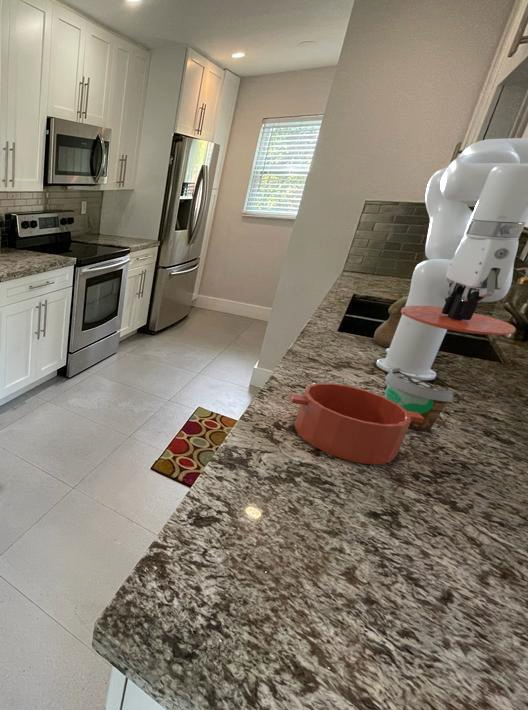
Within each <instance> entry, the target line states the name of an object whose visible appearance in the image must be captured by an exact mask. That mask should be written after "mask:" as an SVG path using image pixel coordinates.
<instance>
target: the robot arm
mask: <svg viewBox="0 0 528 710" xmlns="http://www.w3.org/2000/svg"><path fill="white" fill-rule="evenodd" d="M464 202H476V204H475V207H474V209H473V210H472V209H471V208H470V207H469V206H468V205H467V204H466V203H464ZM425 207H426V212H427V214H428V217H429V226H428V230H427V235H426V240H425V241H426V242H425V247H424V248H425V249H424V254H425V257H426V258H427V259H426V260H422V261H421V262H420V263H418V264H417V265H416V266H415V267H414V270H413V273H412V277H411V280H410V281H411V282H410V287H409V292H408V293H409V296H408V299H407V303H406V305H405V307H406V306H433V307H442V308H443V310H442V313H443V314H447V315H448V314H449V311H450V309H451V307H452V304H453V302H454V300H455V297H456V295H457V294H462V297H461V300H458V301H457V303H456V305H455V308H454V310H453V312H452V315H451V318H453V319H461V320H470V319H471V318H472V316H473V313H475V311H476V309H477V307H478V305H479V304H481V303H495V302H499V301H501V300H502V299H503V298H505V297H506V295H508V293H509V291H510V289H511V286H512V282H513V275H514V265H515V261H516V257H517V252H518V248H519V242H520V241H519V239H520V237H521V234H522V232H523V230H524V228H525V225H526V223H527V221H528V137H514V138H513V137H511V138H509V137H508V138H486V139H482V140H479V141H476V142H474V143H472V144H469V145H468V146H467V147H466V148H464V149H463V150H462V151H461V153H460V155H459V157H457V158H455V159H454V160H453V161H451V162H450V163H449V164H448V166H446V167H444V168H441V169H439V170H437V171H435V173H433V174H432V175H431V177H430V179H429V181H428V184H427V186H426V190H425ZM446 298H447V300H446V302H445V299H446ZM447 332H448V329H443V328H439V327H435V326H431V325H428V324H425V323H422V322H419V321H416V320H414V319H411V318H409V317H407V316H405V315H403V314H402V316H401V319H400V322H399V324H398V327H397V329H396V332H395V335H394V337H393V340H392V343H391V345H390V348H386V349H385V350H384V351H385V353H387V354H386V355H385V357H381V358H379V359H377V360H376V362H375V365H376V366H377V367H378V368H379V369H381V370H382V371H384V372H386V373H389V372H390V371H392V370H393V369H395V368H401V369H400V372H401V373H403V374H406V375H408V376H410V377H413V378H416V379H419V380H422V381H432V380H435V379H436V377H437V372H435V371H434V370H433V369H431V368H432V366H433V364H434V361H435V359H436V357H437V354H438V353H439V350H440V348H441V345H442V343H443V340H444V338H445V336H446V334H447Z"/></svg>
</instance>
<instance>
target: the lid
mask: <svg viewBox="0 0 528 710" xmlns="http://www.w3.org/2000/svg"><path fill="white" fill-rule="evenodd" d="M461 297H462V294H457V295H456V297H455V300H454V302H453V304H452V307H451V309H450V311H449V314H448V315H447V314H443V313H442V310H443V308H442V307H433V306H406V307H403V308H402V309H401V313H402V314H403V315H405V316H407V317H409V318H411V319H414V320H416V321H419V322H422V323H425V324H428V325H431V326H435V327H439V328H443V329H447V331H452V332H453V331H454V332H460V333H464V334H465V333H466V334H475V335H490V336H507V335H512V334H514V333H515V332H516V330H517V329H516V327H515V326H514V325H513V324H511V323H509V322H506V321H504V320H501V319H498V318H496V317H492V316H489V315H484V314H480V313H477V312H474V313H473V316H472V318H471V319H470V320H461V319H453V318H451V315H452V312H453V310H454V308H455V305H456V303H457V301H458V300H461Z"/></svg>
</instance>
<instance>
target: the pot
mask: <svg viewBox="0 0 528 710" xmlns="http://www.w3.org/2000/svg"><path fill="white" fill-rule="evenodd" d="M288 399H289V401H290V403H291V404H294V405H299V408H298V410H297V414H296V418H295V420H294V423H293V425H294V429H295V431H296V433H297V434H298V435H299V437H301V438H302V439H303V440H304V441H305V442H307V443H308V444H309V445H311V446H313V447H315V448H316V449H318V450H320V451H322V452H325V453H326V454H329V455H331V456H334V457H337V458H338V459H339V458H340V459H343V460H346V461H350V462H354V463H357V464H358V463H359V464H364V465H385V464H389V463H391V462H392V461H393V460H394V459H395V458H396V457H397V455H398V453H399V450H400V448H401V447H402V446H401V445H402V443H403V441H404V439H405V436H406V434H407V432H408V430H409V425H410V422H411V421H413V422H419V423H423V421H424V418H423V417H422V416H421V415H420V414H419V413H418V412H412V411H406V410H405V409H404V408H403V407H402V406H400V405H398V404H397V403H395V402H393V401H391V400H389V399H387V398H385V396H384V395H381V394H378V393H375V392H372V391H369V390H366V389H363V388H359V387H354V386H351V385H347V384H340V383H334V382H333V383H332V382H315V383H312V384H309V385H307V386H305V389H304V391H303V395H301V394H294V393H289V394H288Z"/></svg>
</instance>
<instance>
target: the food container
mask: <svg viewBox="0 0 528 710" xmlns="http://www.w3.org/2000/svg"><path fill="white" fill-rule="evenodd" d="M400 369H401V368H395V369H393V370H392V371H390V372H387V375H386V376H385V378H384V381H386V383H387V385H386V390H385V393H384V397H385V398H387V399H389V400H391V401H393V402H395V403H397V404H398V405H400V406H402V407H403V408H404V409H405V410H406V411H412V412H418V413H419V414H420V415H421V416H422V417H423V418H424V421H423V423H419V422H413V421H411V422H410V425H409V427H408V429H410V428H411V429H413V430H419V431H431V429H432V428H433V426H434V425H435V423H436V421H437V420H438V418H439V416H440V415H441V413H442V411H443V410H444V408H445V406H446V405H447V404H448V402H449V403H450V402H451V403H452V402H453V400H454V391H453V390H452V391H451V390H449V391H448V390H441V389H438V388H437V387H435V386H433V385H431V384H430V383H429V382H426V380H419V379H416V378H413V377H410V376H408V375H406V374H403V373H401V372H400Z"/></svg>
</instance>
